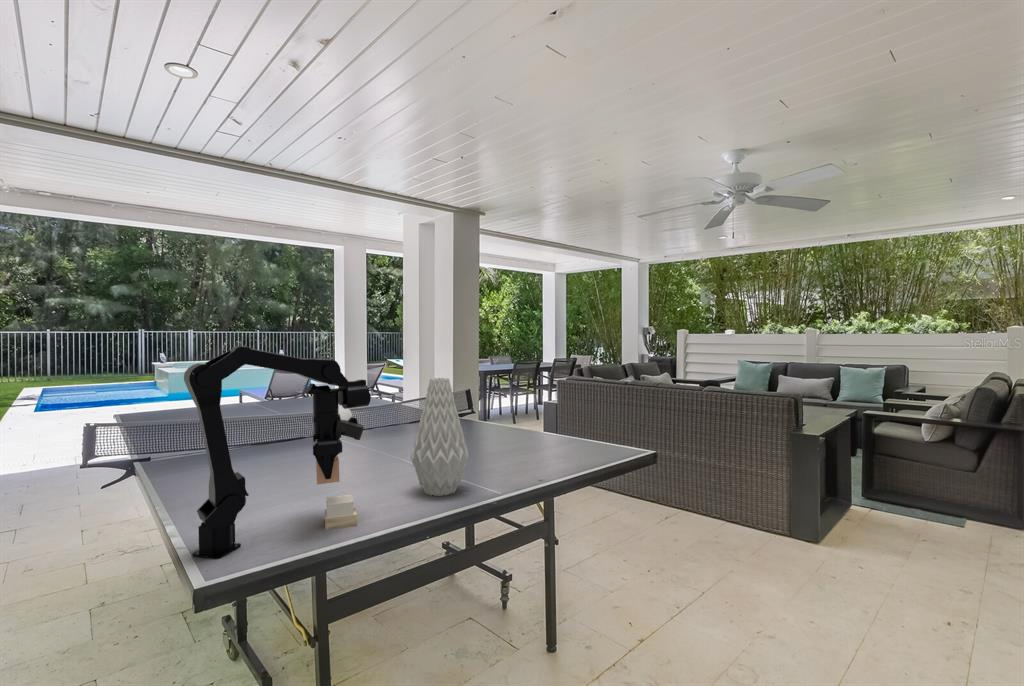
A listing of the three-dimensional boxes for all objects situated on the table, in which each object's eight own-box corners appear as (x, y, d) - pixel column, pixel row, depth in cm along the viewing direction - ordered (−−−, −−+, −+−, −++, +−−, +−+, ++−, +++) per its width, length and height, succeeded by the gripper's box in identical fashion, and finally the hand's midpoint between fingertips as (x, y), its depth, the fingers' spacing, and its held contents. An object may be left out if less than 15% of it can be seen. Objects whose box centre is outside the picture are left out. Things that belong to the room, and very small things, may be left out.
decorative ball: (327, 428, 252) (326, 404, 251) (352, 427, 255) (352, 403, 255) (325, 432, 240) (325, 407, 240) (352, 431, 244) (352, 406, 244)
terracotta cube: (339, 481, 120) (338, 460, 120) (316, 484, 118) (316, 463, 118) (338, 476, 125) (337, 456, 125) (316, 478, 123) (316, 458, 123)
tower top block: (353, 514, 121) (353, 501, 121) (326, 517, 119) (326, 505, 119) (352, 506, 126) (351, 494, 126) (326, 509, 124) (326, 497, 124)
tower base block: (356, 527, 121) (356, 514, 121) (325, 531, 118) (325, 518, 118) (355, 517, 127) (354, 505, 127) (325, 521, 125) (325, 509, 125)
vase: (403, 488, 150) (402, 377, 150) (455, 480, 158) (454, 375, 158) (422, 504, 136) (421, 381, 135) (478, 494, 144) (477, 379, 143)
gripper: (364, 414, 116) (366, 482, 116) (357, 403, 133) (359, 463, 133) (311, 418, 111) (314, 488, 112) (312, 407, 129) (314, 468, 129)
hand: (328, 476), depth 122 cm, fingers closed on terracotta cube, 5 cm apart
